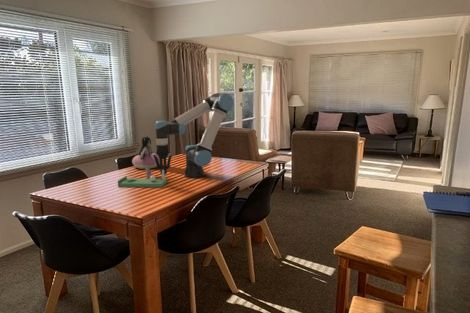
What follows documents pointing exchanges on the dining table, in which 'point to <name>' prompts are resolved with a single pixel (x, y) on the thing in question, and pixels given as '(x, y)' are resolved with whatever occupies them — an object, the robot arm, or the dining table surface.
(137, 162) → the cushion
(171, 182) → the dining table surface
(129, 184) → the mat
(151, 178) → the ball
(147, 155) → the figurine
